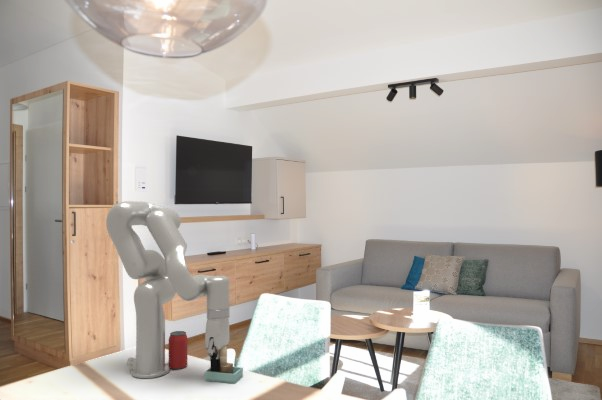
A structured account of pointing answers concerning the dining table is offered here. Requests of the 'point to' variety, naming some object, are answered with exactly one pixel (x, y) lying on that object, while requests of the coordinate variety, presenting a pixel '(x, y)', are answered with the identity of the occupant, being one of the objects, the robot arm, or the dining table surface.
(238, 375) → the tote
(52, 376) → the dining table surface
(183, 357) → the beer can
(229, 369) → the walnut cube
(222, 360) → the beech dowel
